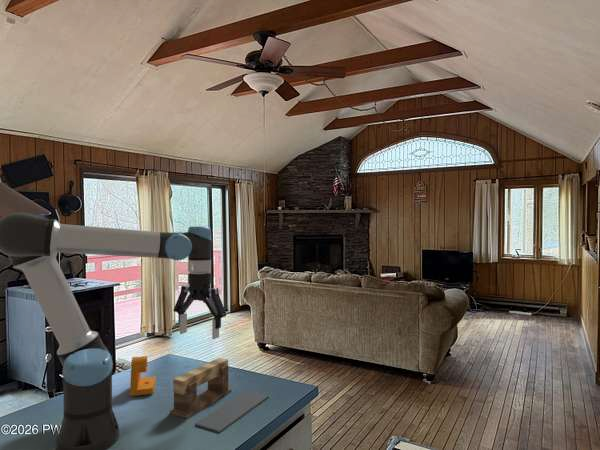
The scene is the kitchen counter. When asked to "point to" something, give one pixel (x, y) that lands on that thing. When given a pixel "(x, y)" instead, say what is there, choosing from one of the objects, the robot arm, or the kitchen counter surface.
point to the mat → (231, 411)
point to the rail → (199, 375)
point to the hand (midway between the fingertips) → (199, 335)
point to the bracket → (201, 396)
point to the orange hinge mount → (137, 383)
